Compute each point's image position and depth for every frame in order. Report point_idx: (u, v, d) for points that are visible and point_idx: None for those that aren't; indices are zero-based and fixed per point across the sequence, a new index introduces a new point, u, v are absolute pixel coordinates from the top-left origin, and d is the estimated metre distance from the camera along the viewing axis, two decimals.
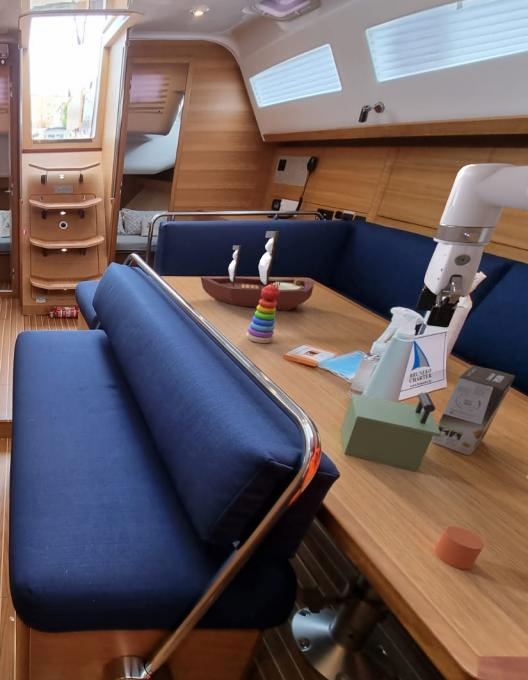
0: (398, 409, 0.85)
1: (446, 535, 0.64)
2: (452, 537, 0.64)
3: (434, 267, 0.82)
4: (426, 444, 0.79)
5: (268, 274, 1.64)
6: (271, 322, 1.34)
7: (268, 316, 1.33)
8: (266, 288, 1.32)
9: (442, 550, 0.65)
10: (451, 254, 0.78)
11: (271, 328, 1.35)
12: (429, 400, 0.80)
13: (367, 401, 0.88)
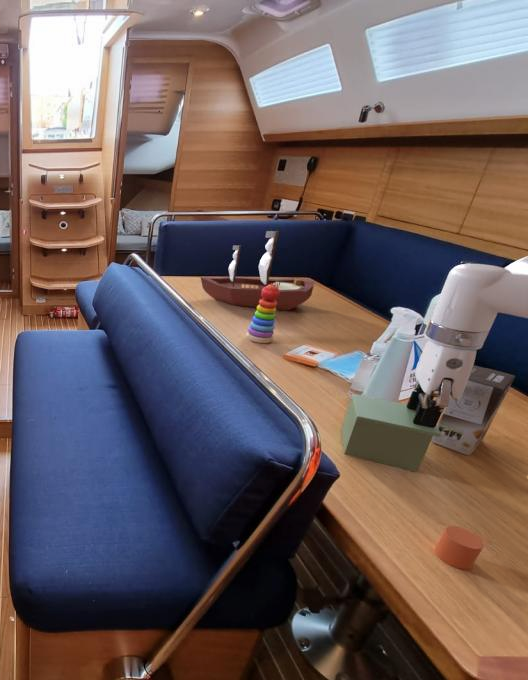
0: (398, 409, 0.85)
1: (446, 535, 0.64)
2: (452, 537, 0.64)
3: (425, 364, 0.78)
4: (426, 444, 0.79)
5: (268, 274, 1.64)
6: (271, 322, 1.34)
7: (268, 316, 1.33)
8: (266, 288, 1.32)
9: (442, 550, 0.65)
10: (442, 356, 0.73)
11: (271, 328, 1.35)
12: None
13: (367, 401, 0.88)
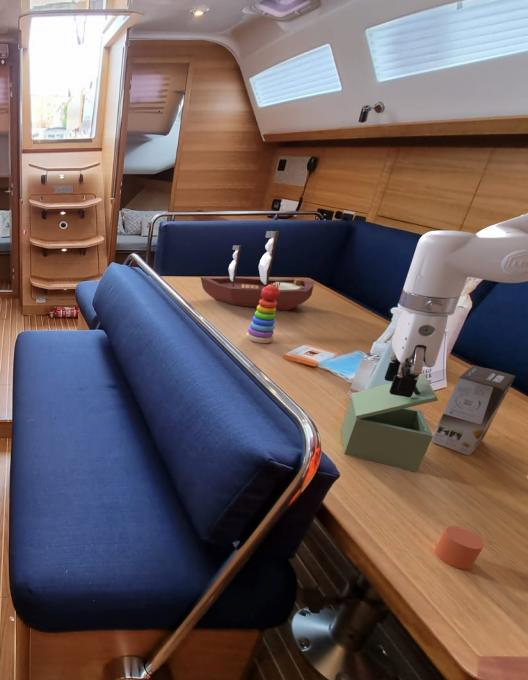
0: None
1: (446, 535, 0.64)
2: (452, 537, 0.64)
3: (399, 333, 0.78)
4: (426, 444, 0.79)
5: (268, 274, 1.64)
6: (271, 322, 1.34)
7: (268, 316, 1.33)
8: (266, 288, 1.32)
9: (442, 550, 0.65)
10: (414, 323, 0.74)
11: (271, 328, 1.35)
12: None
13: (365, 395, 0.88)
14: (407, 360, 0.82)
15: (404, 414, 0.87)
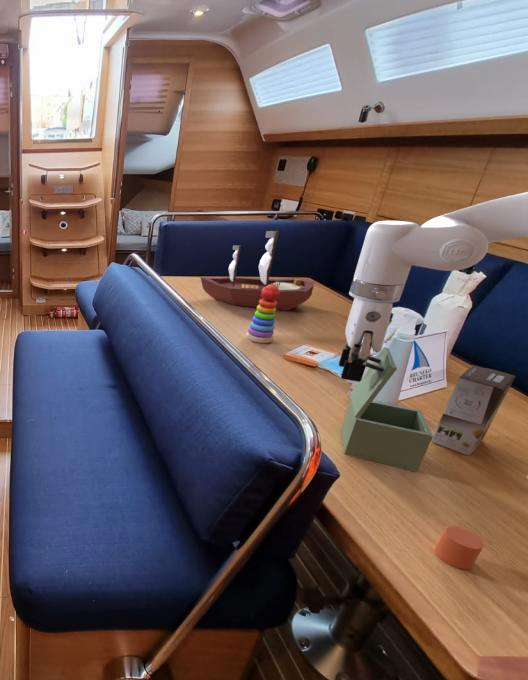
0: (371, 373, 0.85)
1: (446, 535, 0.64)
2: (452, 537, 0.64)
3: (350, 320, 0.81)
4: (426, 444, 0.79)
5: (268, 274, 1.64)
6: (271, 322, 1.34)
7: (268, 316, 1.33)
8: (266, 288, 1.32)
9: (442, 550, 0.65)
10: (362, 310, 0.77)
11: (271, 328, 1.35)
12: None
13: (357, 391, 0.88)
14: (359, 346, 0.85)
15: (404, 414, 0.87)
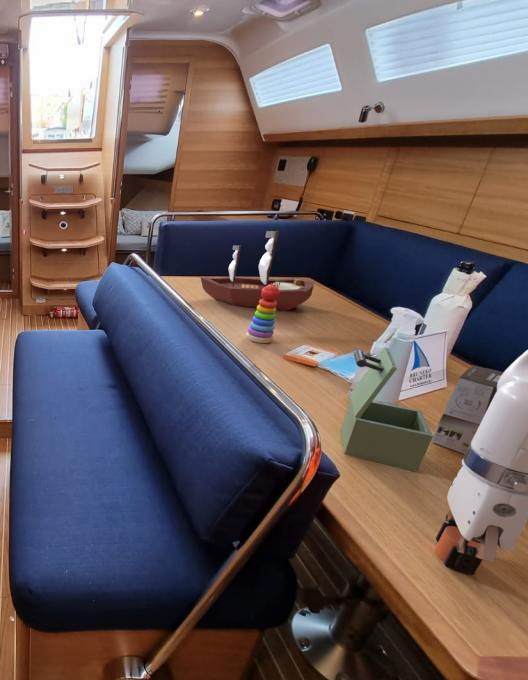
0: (371, 373, 0.85)
1: (446, 535, 0.64)
2: (452, 537, 0.64)
3: (462, 498, 0.61)
4: (426, 444, 0.79)
5: (268, 274, 1.64)
6: (271, 322, 1.34)
7: (268, 316, 1.33)
8: (266, 288, 1.32)
9: (442, 550, 0.65)
10: (488, 498, 0.56)
11: (271, 328, 1.35)
12: (356, 357, 0.83)
13: (357, 391, 0.88)
14: None
15: (404, 414, 0.87)
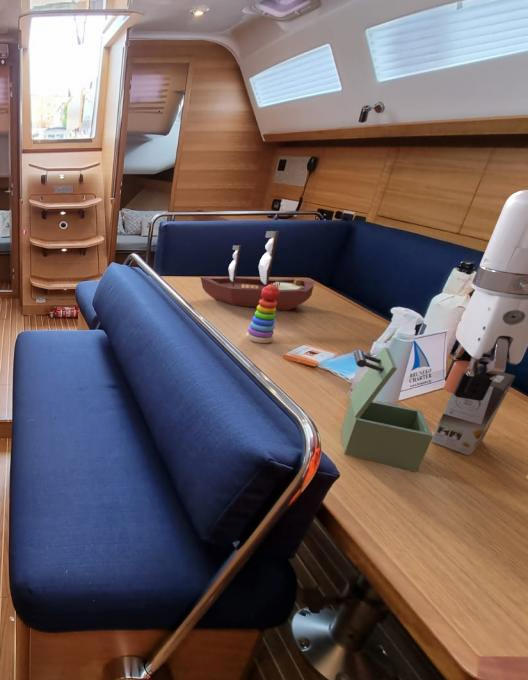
0: (371, 373, 0.85)
1: (455, 367, 0.66)
2: (461, 367, 0.65)
3: (472, 322, 0.63)
4: (426, 444, 0.79)
5: (268, 274, 1.64)
6: (271, 322, 1.34)
7: (268, 316, 1.33)
8: (266, 288, 1.32)
9: (451, 383, 0.66)
10: (497, 308, 0.58)
11: (271, 328, 1.35)
12: (356, 357, 0.83)
13: (357, 391, 0.88)
14: None
15: (404, 414, 0.87)
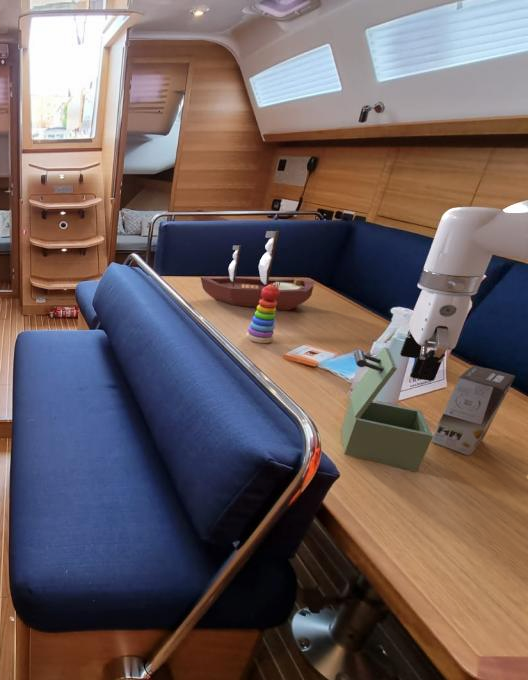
0: (371, 373, 0.85)
1: None
2: None
3: (418, 315, 0.76)
4: (426, 444, 0.79)
5: (268, 274, 1.64)
6: (271, 322, 1.34)
7: (268, 316, 1.33)
8: (266, 288, 1.32)
9: None
10: (435, 303, 0.71)
11: (271, 328, 1.35)
12: (356, 357, 0.83)
13: (357, 391, 0.88)
14: None
15: (404, 414, 0.87)
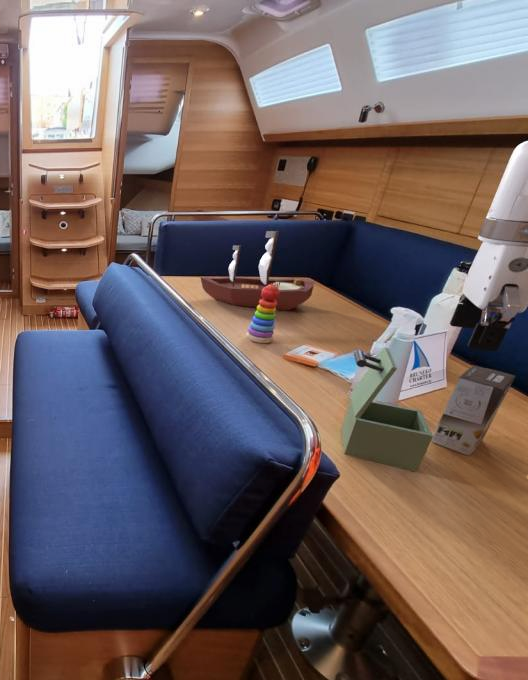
0: (371, 373, 0.85)
1: None
2: None
3: (478, 274, 0.64)
4: (426, 444, 0.79)
5: (268, 274, 1.64)
6: (271, 322, 1.34)
7: (268, 316, 1.33)
8: (266, 288, 1.32)
9: None
10: (503, 257, 0.60)
11: (271, 328, 1.35)
12: (356, 357, 0.83)
13: (357, 391, 0.88)
14: None
15: (404, 414, 0.87)
